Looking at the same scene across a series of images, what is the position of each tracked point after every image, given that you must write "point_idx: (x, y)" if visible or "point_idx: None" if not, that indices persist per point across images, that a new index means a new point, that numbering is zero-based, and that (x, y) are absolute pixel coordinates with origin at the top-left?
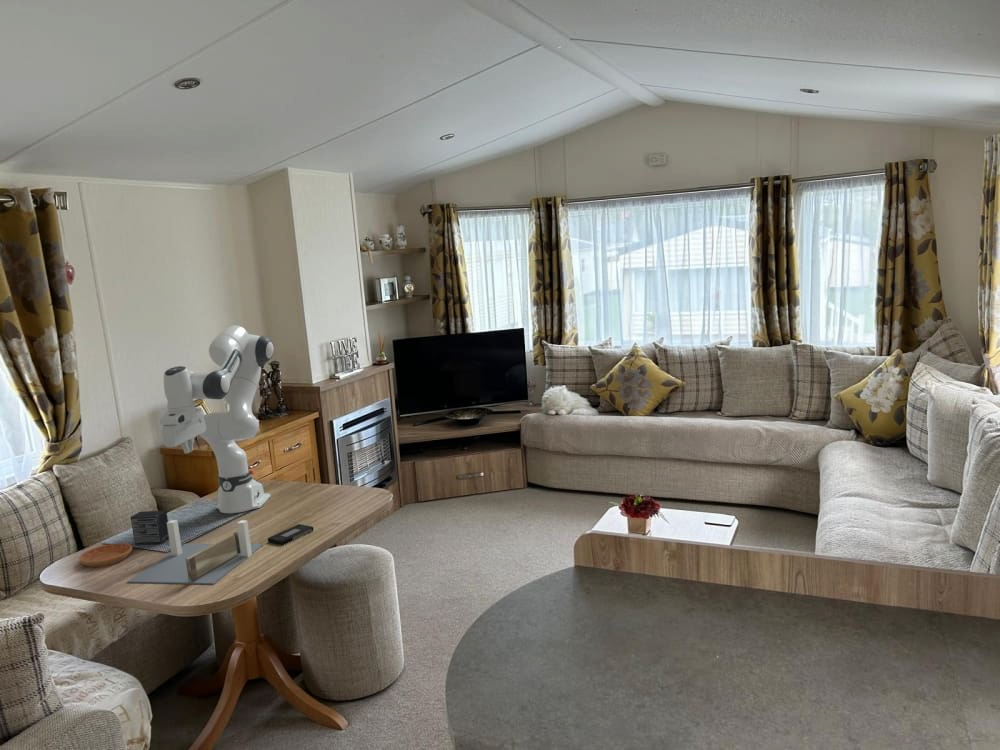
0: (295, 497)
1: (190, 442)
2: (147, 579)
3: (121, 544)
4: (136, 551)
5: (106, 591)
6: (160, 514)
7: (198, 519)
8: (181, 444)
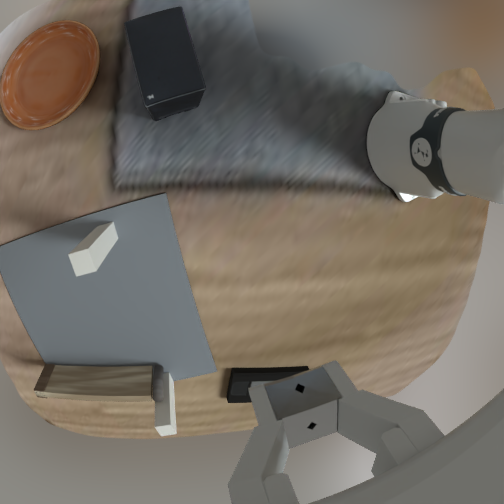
0: (445, 236)
1: (376, 441)
2: (11, 282)
3: (95, 53)
4: (99, 99)
5: None
6: (164, 101)
7: (324, 89)
8: (233, 493)
